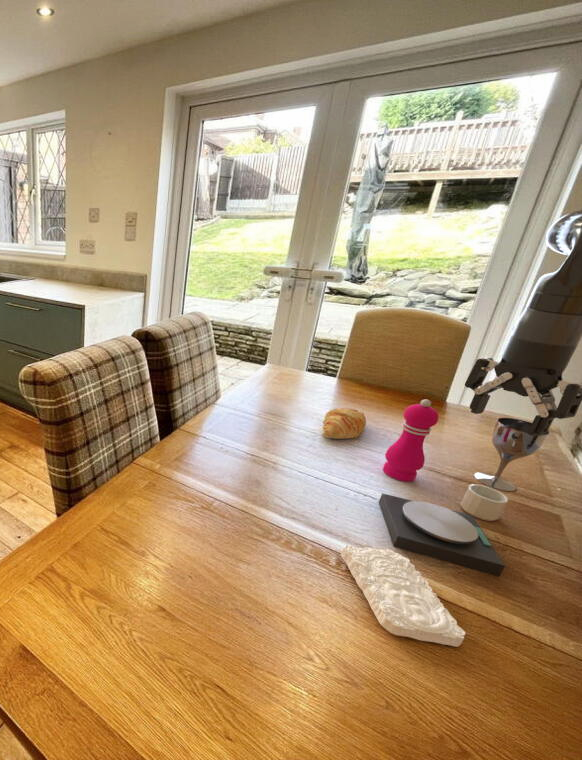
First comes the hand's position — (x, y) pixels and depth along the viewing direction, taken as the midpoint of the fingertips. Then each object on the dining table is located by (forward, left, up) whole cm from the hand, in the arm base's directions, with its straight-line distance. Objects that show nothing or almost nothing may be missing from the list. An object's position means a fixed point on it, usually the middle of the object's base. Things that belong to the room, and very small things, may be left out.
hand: (503, 423), depth 72 cm
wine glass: (-14, -22, -23) cm, 35 cm away
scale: (+5, +7, -23) cm, 25 cm away
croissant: (+16, -34, -23) cm, 45 cm away
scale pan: (+5, +7, -20) cm, 22 cm away
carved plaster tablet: (+15, +27, -23) cm, 39 cm away
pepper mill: (+6, -15, -23) cm, 29 cm away
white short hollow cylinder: (-6, -6, -23) cm, 24 cm away
